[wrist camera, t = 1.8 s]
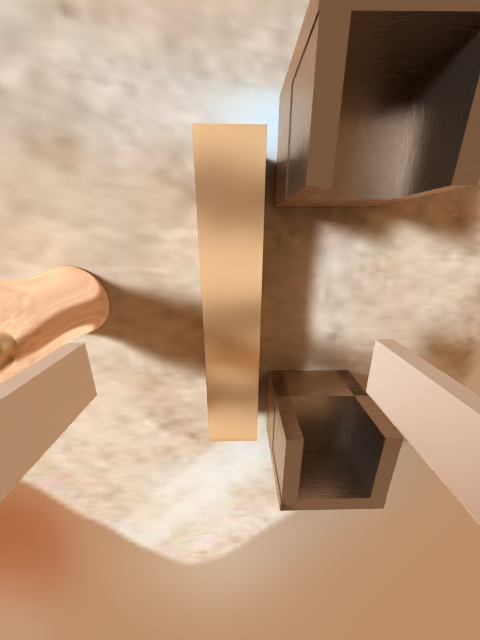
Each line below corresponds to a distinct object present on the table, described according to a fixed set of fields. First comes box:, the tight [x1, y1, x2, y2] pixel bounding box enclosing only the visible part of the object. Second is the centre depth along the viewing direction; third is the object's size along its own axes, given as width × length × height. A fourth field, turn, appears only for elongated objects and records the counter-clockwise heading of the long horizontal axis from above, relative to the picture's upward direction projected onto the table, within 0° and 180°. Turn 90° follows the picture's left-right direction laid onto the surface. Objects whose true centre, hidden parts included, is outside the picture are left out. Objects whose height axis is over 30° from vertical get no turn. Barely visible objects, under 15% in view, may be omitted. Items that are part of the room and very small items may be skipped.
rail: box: [192, 124, 267, 441], centre depth 19 cm, size 22×4×6 cm, turn 0°
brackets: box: [267, 0, 480, 511], centre depth 17 cm, size 29×8×8 cm, turn 0°
